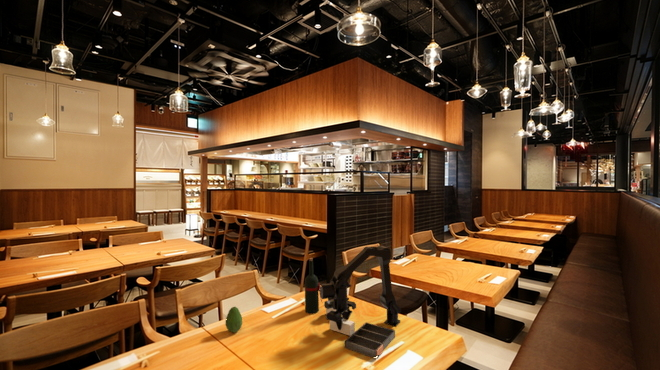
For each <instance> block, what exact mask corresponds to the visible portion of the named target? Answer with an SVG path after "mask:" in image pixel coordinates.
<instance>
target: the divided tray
mask: <svg viewBox="0 0 660 370" xmlns="http://www.w3.org/2000/svg"><path fill="white" fill-rule="evenodd" d="M395 338H396V330H395V329H391V328H386V327H383V326H381V325H377V324H374V323H370V322H367V321H366V322H364V323H363V324H362V325H361V326H360V327H359V328H358V329H356V330H355V332H354V333H353V334H352V335H351V336H348V338H346V339H345V340H344V341H343V342H344V349H348V350H350V351H353V352H355V353H358V354H361V355H363V356H365V357H370V358H372V359H374V358H373V357H376V356H378V355H379V354H380V355H381V354H382V353H383V352H384V351H385V350H386V348H387V347H388V346H389V345H390V344H391V343H392V342H393V340H394V339H395Z"/></svg>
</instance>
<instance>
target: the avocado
mask: <svg viewBox="0 0 660 370" xmlns="http://www.w3.org/2000/svg"><path fill="white" fill-rule="evenodd" d="M226 319H227V320H226ZM242 325H243V317H242V314H241V312H240V310H239V308H238V307H237V306H232V307H231V308H230V309H229V310H228V312H227V314H226V318H225V326H226V327H225V328H226V329H227V331H229V332H231V333H237V332H239V331H240V329H241V328H242Z"/></svg>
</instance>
